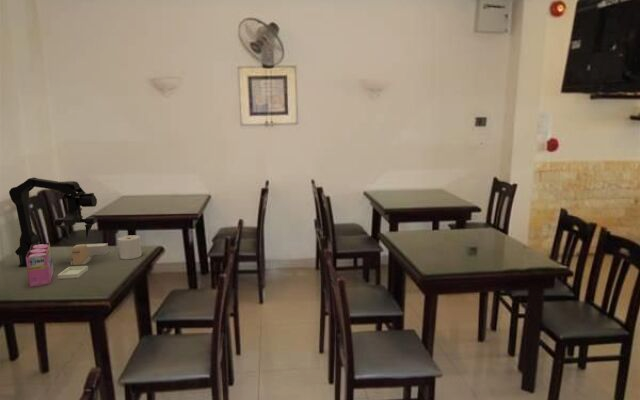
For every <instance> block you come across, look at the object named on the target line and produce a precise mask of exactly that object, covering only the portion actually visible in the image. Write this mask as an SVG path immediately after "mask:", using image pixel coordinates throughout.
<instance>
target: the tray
mask: <svg viewBox="0 0 640 400" xmlns="http://www.w3.org/2000/svg"><path fill="white" fill-rule="evenodd" d="M88 271H89V266H88V265H73V266H67V268H65V269H64V270H62V271H61V272H60V273H58V274H57V280H66V279H70V280H71V279H79V278H80V277H82V275H84V274H86V272H88Z"/></svg>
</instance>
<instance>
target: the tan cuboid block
mask: <svg viewBox="0 0 640 400" xmlns="http://www.w3.org/2000/svg"><path fill="white" fill-rule="evenodd" d="M76 245H77V246H76ZM76 245H75V246H76V247H74V246H73V247H74V248H73V247H72V249H71V257H72V261H73V265H72V266H83V261H85V260H86V259H87V258H88V257H89V256H88V251H87V245H83V244H76Z"/></svg>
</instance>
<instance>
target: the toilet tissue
mask: <svg viewBox="0 0 640 400" xmlns="http://www.w3.org/2000/svg"><path fill="white" fill-rule="evenodd" d="M117 242H118V243H117V245H118V251H119V252H118V253H119V259H120V260H133V259H137V258H140V257H141V256H142V253H143V252H142V244H141V236H140V235H137V234H136V235H134V234H133V235H124V236H121V235H119V236H118V237H117Z"/></svg>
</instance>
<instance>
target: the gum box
mask: <svg viewBox="0 0 640 400" xmlns="http://www.w3.org/2000/svg"><path fill="white" fill-rule="evenodd" d="M51 249H52V248H51V243H50V241H48V242H46V244H43V243H42V244H39V245H35V244H33V245H31V247H30V250H29V252H28V254H27V256H26V263H27V266H26V269H27V274H28V275H27V276H28V282H29V287H30V288H32V287H39V286H44V285H50V284H51V282H52V277H53V274H54V270H55V267H54V261H53V255H52V250H51Z"/></svg>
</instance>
